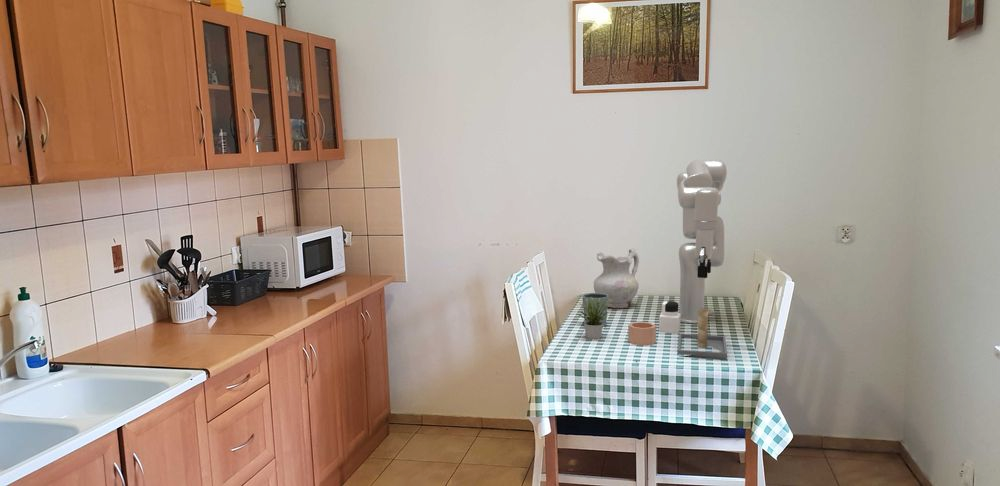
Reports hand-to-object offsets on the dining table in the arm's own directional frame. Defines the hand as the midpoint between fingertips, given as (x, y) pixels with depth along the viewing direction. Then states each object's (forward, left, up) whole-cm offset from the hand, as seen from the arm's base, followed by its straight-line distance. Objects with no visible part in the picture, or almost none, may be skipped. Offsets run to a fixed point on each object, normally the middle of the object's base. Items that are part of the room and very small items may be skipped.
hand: (704, 275), depth 249 cm
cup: (+17, -12, -26) cm, 33 cm away
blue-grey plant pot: (+22, -43, -26) cm, 55 cm away
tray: (0, 0, -26) cm, 26 cm away
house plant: (+30, -22, -26) cm, 46 cm away
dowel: (0, 0, -25) cm, 25 cm away
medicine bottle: (0, -23, -26) cm, 35 cm away
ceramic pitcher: (-1, -72, -26) cm, 77 cm away
